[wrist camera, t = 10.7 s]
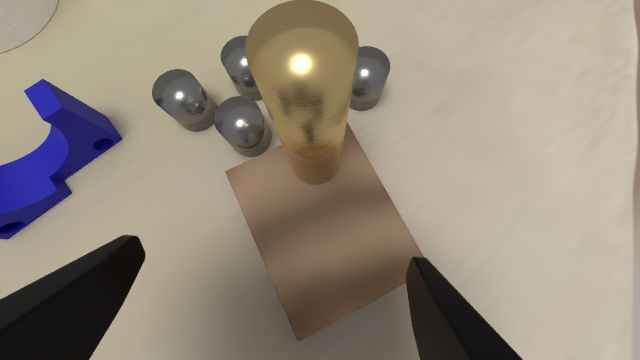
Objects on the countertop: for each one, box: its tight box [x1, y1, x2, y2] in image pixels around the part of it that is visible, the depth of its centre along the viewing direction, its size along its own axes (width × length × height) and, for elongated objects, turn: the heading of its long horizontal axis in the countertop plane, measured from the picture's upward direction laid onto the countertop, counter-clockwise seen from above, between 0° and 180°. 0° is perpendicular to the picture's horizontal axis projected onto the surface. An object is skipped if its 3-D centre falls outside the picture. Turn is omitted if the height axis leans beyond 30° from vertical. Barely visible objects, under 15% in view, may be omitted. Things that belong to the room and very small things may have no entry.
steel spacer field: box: [152, 36, 390, 157], centre depth 23 cm, size 9×18×4 cm, turn 117°
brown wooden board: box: [225, 123, 424, 341], centre depth 22 cm, size 14×11×2 cm
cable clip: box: [0, 79, 122, 239], centre depth 21 cm, size 12×4×6 cm, turn 131°
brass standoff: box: [245, 0, 359, 185], centre depth 16 cm, size 4×4×13 cm
